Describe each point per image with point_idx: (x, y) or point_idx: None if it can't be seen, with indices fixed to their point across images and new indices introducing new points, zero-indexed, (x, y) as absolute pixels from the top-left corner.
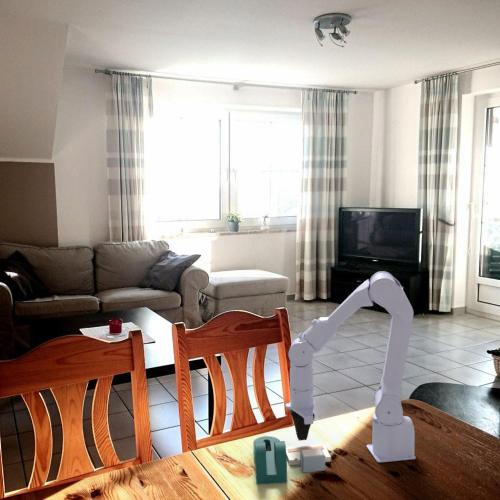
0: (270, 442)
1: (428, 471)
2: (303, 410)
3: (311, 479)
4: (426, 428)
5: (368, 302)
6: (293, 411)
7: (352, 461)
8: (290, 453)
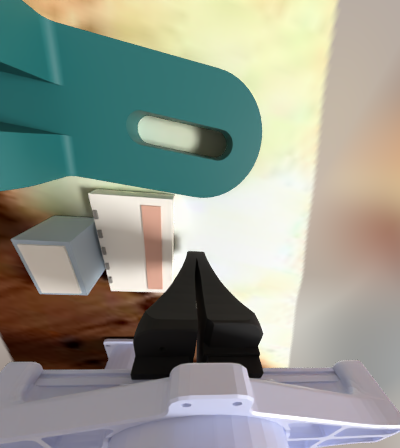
0: (202, 158)
1: None
2: (104, 430)
3: (23, 223)
4: None
5: None
6: (229, 337)
7: (114, 310)
8: (134, 208)
